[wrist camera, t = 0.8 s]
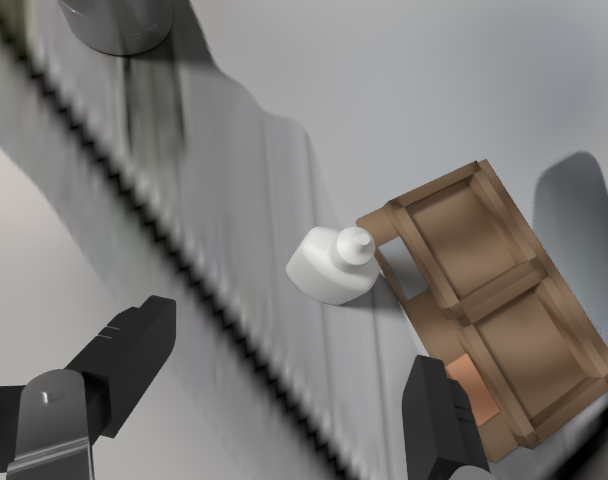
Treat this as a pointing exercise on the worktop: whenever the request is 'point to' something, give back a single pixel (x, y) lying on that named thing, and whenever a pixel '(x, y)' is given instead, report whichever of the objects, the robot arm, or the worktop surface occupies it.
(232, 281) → the worktop surface
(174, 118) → the worktop surface
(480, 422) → the wooden compartment tray
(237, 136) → the worktop surface
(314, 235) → the eye dropper bottle
